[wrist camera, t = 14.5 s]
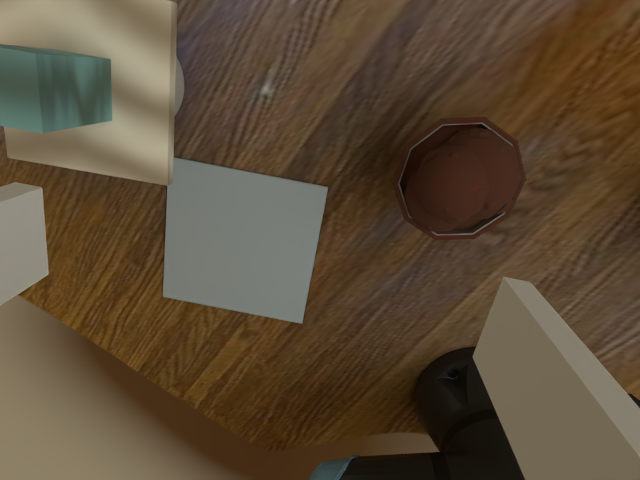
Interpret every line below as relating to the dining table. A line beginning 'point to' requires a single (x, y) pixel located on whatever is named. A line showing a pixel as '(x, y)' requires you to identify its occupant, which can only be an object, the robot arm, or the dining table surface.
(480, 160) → the ice cream bowl
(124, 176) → the lid
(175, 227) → the mat
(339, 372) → the dining table surface
